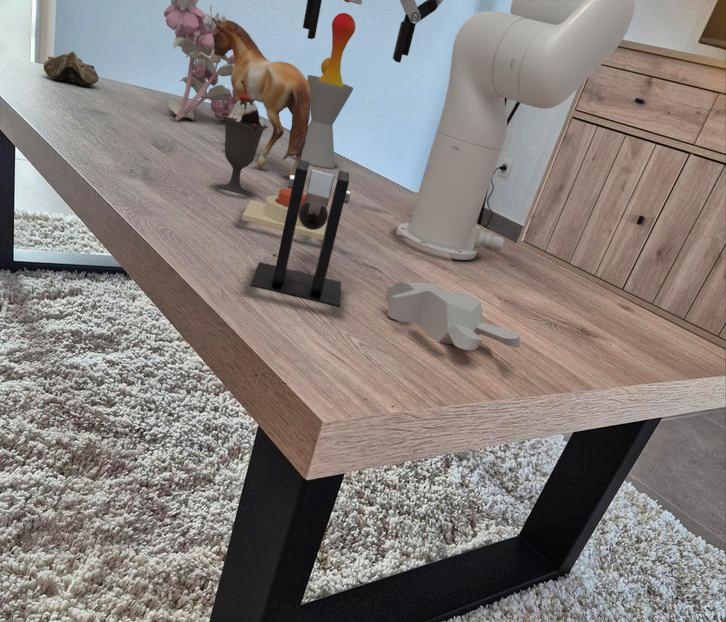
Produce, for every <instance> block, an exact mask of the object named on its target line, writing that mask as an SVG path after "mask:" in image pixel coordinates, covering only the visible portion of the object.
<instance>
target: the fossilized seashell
mask: <svg viewBox="0 0 726 622" xmlns="http://www.w3.org/2000/svg"><path fill="white" fill-rule="evenodd" d="M43 71H44V72H45V74H46V76H48V77H50V78H52V79H53V80H57V81H60V82H67V81H68V82H69V81H72V82H74V83H76V84H77V85H80V86H85V87H89V86H92V85H95V84H96V83H98V81H99V79H100V78H99V75H98V73H97V71H96V69H95V66H94V65H92V64H91V65H90V64H87V63H84V62H83V60H82V59H81V58H79V56H77V54H76V53H75V52H74V51H73V50H72V51H70V52H67V53H64V54H60V55H58V56H56V57H53V56H48V59H47V60H45V62H44V63H43Z"/></svg>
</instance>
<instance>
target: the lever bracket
mask: <svg viewBox="0 0 726 622" xmlns="http://www.w3.org/2000/svg"><path fill="white" fill-rule="evenodd" d="M309 168H310V164H309V162H307V161H304V160H299V163H298V165H297V168H296V172H295V174H290V177H289V178H288V184H287V189H291V190H292V191H291V196H290V201H289V205H288V210H287V215H286V220H285V225H284V229H283V230H282V234H281V240H280V244H279V249H278V254H277V259H276V263H275V265H274V264H270V263H265V262H261V261H259V262H258V265H257V267H256V269H255V271H254V275H253V277H252V279H251V281H250V287H253V288H257V289H261V290H266V291H270V292H274V293H279V294H281V295H282V294H283V295H287V296H290V297H295V298H299V299H303V300H307V301H312V302H315V303H320V304H323V305H324V304H325V305H328V306H333V307H337V308H340V307H341V291H342V282H341V281H338V280H335V279H331V278H327V273H328V269H329V266H330V260H331V257H332V253H333V248H334V246H335V245H334V244H335V241H336V236H337V232H338V228H339V225H340V221H341V217H342V213H343V207H344V204H349V203H350V199H351V195H352V189H351V188H349V184H350V172H349V171H345V170H342V169H340V170H339V171H338V174H337V178H336V183H335V187H334V192H333V196H332V200H331V204H330V208H329V212H328V218H327V219H328V220H327V225H326V229H325V233H324V237H323V240H321V241H322V242H321V246H320V250H319V254H318V258H317V263H316V267H315V271H314V274H312V273H311V274H310V273H306V272H303V271H302V272H301V271H298V270H293V269H290V268H288V263H289V260H290V254H291V251H292V245H293V242H294V236H295V233H294V232H295V227H296V223H297V218H298V213H299V209H300V204H301V200H302V195H303V194H304V191H305V185H306V181H307V177H308V172H309Z"/></svg>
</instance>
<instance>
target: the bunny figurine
mask: <svg viewBox="0 0 726 622" xmlns="http://www.w3.org/2000/svg"><path fill="white" fill-rule="evenodd" d="M384 299H385V301H387V303H389V304H388V308H387V312H386V313H387V314H386V315H387V316H388V317H389V318H390V319H392V320H395V321H397V322H401V323H402V322H404V323H412V324H416V325H418V326H419V328H420V329H421V330H422V331H423V332H424V333H426V335H427V336H428V337H430V338H431V339H432V340H434V341H435V342H437V343H439V344H447V345H454V346H455V347H457V348H458V349H460V350H464V351H475V350H477V349H478V348H479V346H480V344H481V343H482V342H483V338H482V337H481V336H480V335H482V336H485V337H487V338H490V339H491V340H494V341H497V342H499V343H501V344H503V345H506V346H509V347H511V348H516V349H517V348H520V345H521V343H520V340H521V339H520V335H519V333H518V332H516V331H512V330H509V329H506V328H503V327H500V326H496V325H492V324H488V323H485V322H483V312H482V311H483V310H482V302H481V301H480V300H479V299H477V298H476V297H475V296H473V295H471V294H469V293H466V292H462V291H452V290H451V291H450V290H445V289H440V288H439V287H438V285H437V283H434V282H415V281H414V282H412V281H411V282H410V281H400V282H396V283H395V284H394V285H387V288H386V294H385V298H384Z"/></svg>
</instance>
